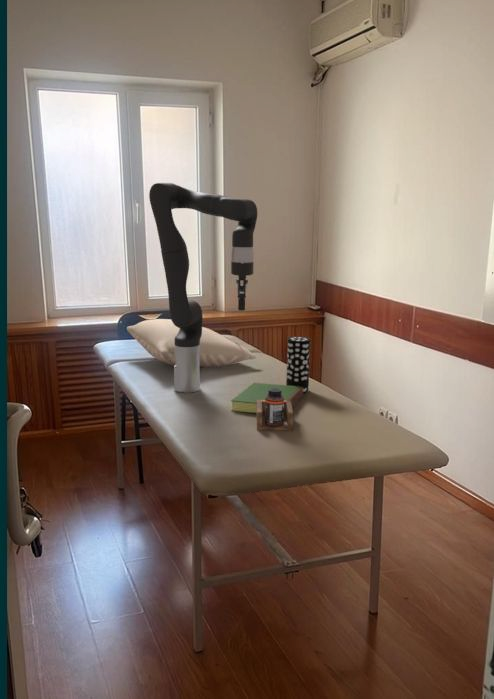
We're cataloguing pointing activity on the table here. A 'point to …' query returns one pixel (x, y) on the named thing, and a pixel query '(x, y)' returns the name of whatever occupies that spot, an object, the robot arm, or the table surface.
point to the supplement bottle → (274, 407)
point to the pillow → (161, 344)
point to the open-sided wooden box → (285, 426)
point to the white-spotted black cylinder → (298, 362)
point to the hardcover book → (263, 396)
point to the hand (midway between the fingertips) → (241, 308)
